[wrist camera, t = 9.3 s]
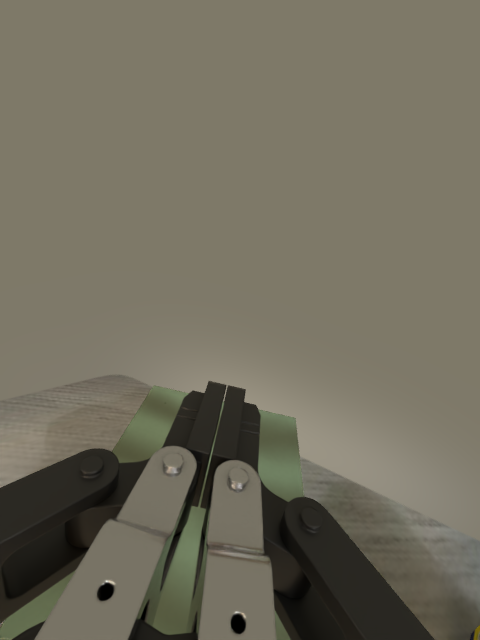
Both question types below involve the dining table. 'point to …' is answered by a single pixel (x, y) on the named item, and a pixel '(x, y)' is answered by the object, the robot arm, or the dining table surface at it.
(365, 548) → the dining table surface
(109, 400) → the dining table surface
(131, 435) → the box lid
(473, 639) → the supplement box
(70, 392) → the dining table surface
